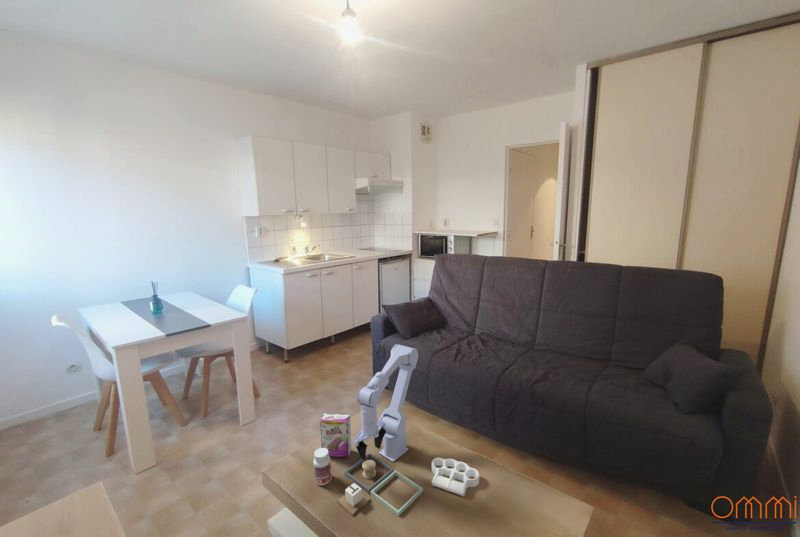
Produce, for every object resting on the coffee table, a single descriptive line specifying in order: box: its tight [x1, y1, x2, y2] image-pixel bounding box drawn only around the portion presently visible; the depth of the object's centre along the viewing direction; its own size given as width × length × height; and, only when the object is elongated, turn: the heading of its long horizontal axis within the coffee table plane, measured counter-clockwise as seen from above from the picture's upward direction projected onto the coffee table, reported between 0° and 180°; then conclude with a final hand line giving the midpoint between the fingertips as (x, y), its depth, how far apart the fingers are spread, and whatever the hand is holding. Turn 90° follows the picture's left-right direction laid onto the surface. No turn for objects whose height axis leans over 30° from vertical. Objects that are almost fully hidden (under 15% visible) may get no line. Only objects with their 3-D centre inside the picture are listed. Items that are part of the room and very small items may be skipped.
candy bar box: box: [319, 413, 352, 458], centre depth 141 cm, size 11×5×16 cm, turn 85°
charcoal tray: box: [344, 452, 395, 495], centre depth 131 cm, size 13×13×2 cm
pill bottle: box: [313, 447, 333, 486], centre depth 128 cm, size 6×6×11 cm
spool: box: [361, 459, 377, 480], centre depth 131 cm, size 5×5×4 cm
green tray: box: [369, 470, 424, 517], centre depth 122 cm, size 13×13×2 cm
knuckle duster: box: [431, 457, 480, 497], centre depth 129 cm, size 3×18×15 cm
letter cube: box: [344, 482, 363, 506], centre depth 119 cm, size 4×4×4 cm
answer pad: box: [336, 491, 371, 516], centre depth 119 cm, size 8×8×1 cm
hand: (370, 452), depth 129 cm, fingers open, 7 cm apart
